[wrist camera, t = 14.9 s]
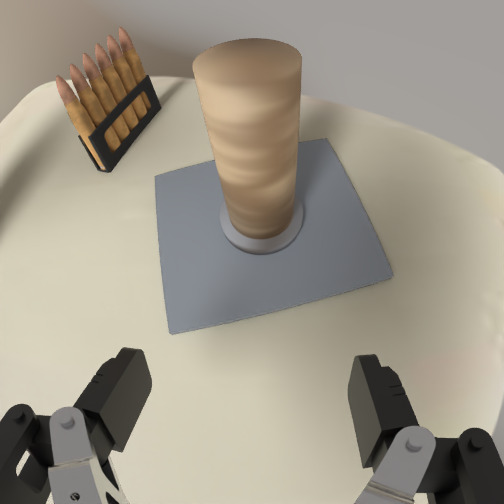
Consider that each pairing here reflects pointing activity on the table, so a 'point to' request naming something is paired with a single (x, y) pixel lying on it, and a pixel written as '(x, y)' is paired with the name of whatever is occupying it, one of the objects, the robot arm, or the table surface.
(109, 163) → the ammunition clip
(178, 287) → the slate mat
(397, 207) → the table surface
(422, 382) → the table surface
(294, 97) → the tan ribbed cylinder
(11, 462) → the robot arm
